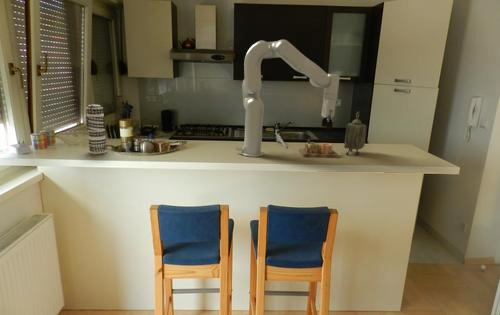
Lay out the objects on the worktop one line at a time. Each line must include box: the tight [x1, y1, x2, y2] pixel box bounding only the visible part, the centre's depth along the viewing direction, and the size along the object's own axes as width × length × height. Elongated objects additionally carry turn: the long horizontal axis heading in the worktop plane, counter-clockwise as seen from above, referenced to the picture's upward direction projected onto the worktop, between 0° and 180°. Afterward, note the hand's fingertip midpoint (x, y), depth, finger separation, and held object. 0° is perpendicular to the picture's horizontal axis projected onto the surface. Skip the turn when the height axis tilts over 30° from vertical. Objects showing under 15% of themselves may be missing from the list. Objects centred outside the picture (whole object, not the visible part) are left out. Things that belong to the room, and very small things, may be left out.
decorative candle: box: [85, 104, 108, 155], centre depth 173 cm, size 9×9×25 cm
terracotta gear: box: [318, 142, 333, 154], centre depth 188 cm, size 7×7×4 cm
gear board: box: [298, 139, 340, 159], centre depth 188 cm, size 20×14×8 cm
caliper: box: [276, 132, 288, 149], centre depth 211 cm, size 20×1×6 cm, turn 11°
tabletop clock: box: [343, 111, 368, 156], centre depth 190 cm, size 14×9×25 cm, turn 152°
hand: (326, 127), depth 185 cm, fingers open, 9 cm apart
